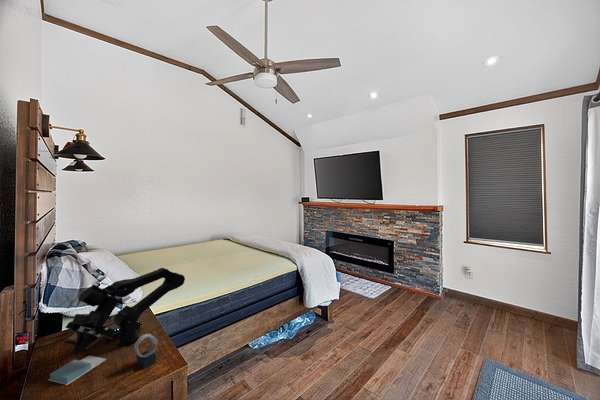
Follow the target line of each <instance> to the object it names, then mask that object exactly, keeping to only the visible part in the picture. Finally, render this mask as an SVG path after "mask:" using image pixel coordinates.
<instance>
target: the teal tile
mask: <svg viewBox="0 0 600 400" xmlns="http://www.w3.org/2000/svg"><path fill="white" fill-rule="evenodd" d="M89 369H91V363H88V362H84V361H80V360H78V359H73V360H72V361H70V362H68V363H66V364H65V365H63V366H61V367H59V368H58V369H55V370H54V371H52V372H51V373H49V379H50V380H54V381H58V382H62V383H66V384H68V383H69V382H71V381H72V380H74V379H76V378H77V377H79V376H80V375H82V374H83V373H85V372H86V371H88V370H89ZM91 370H92V369H91ZM88 372H89V371H88ZM86 373H87V372H86ZM86 373H85V374H86ZM83 375H84V374H83ZM83 375H82V376H83ZM80 377H81V376H80ZM80 377H79V378H80ZM77 379H78V378H77ZM77 379H76V380H77ZM74 381H75V380H74ZM71 383H72V382H71ZM68 385H69V384H68Z"/></svg>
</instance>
